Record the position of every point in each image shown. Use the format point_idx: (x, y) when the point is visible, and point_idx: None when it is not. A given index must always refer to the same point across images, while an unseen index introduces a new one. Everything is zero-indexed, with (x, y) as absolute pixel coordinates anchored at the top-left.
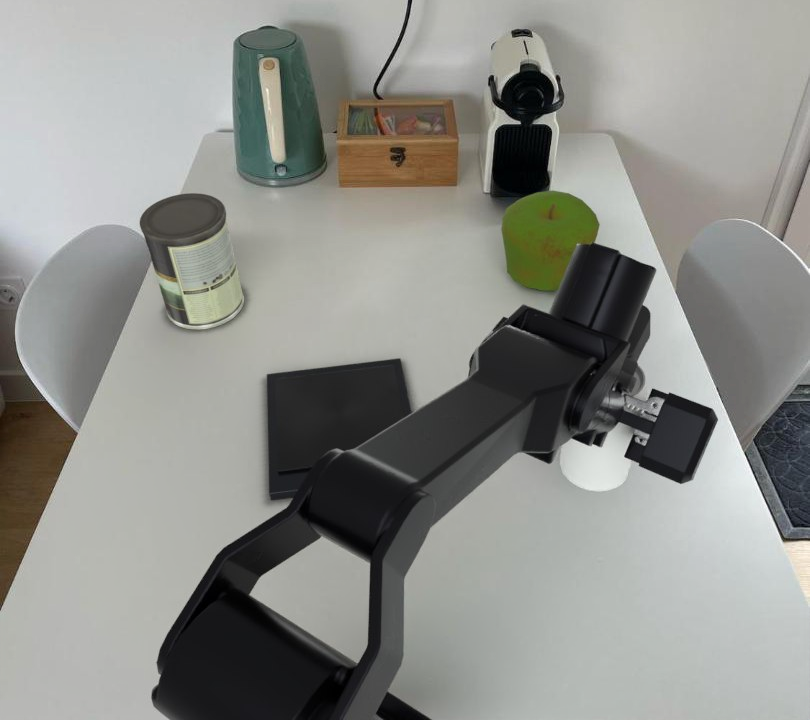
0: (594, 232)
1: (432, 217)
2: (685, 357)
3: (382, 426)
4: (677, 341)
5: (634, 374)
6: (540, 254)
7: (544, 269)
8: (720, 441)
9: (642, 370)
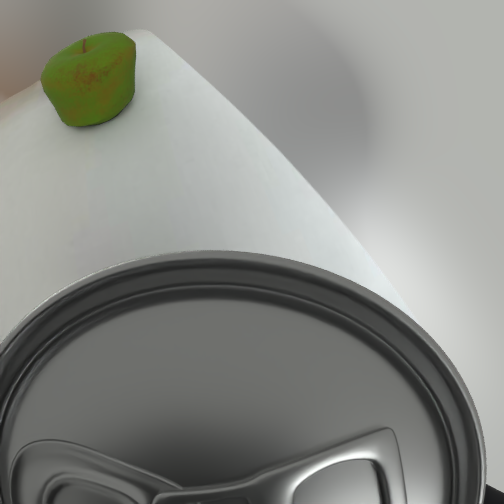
0: (130, 48)
1: (16, 109)
2: (259, 143)
3: None
4: (244, 129)
5: (384, 396)
6: (75, 85)
7: (86, 100)
8: (340, 236)
9: (439, 346)
